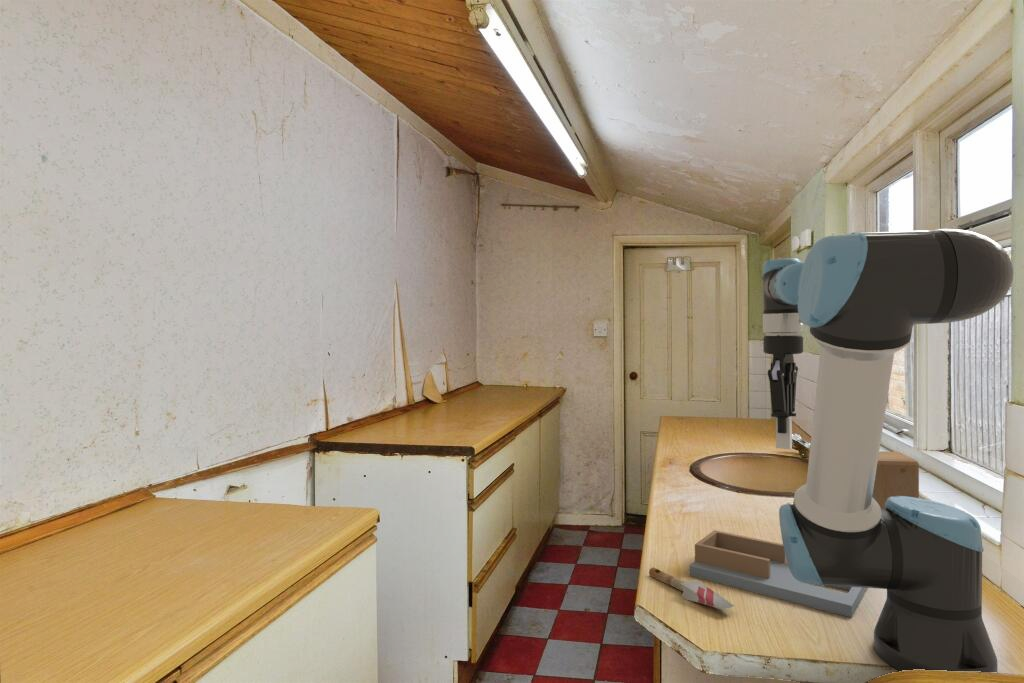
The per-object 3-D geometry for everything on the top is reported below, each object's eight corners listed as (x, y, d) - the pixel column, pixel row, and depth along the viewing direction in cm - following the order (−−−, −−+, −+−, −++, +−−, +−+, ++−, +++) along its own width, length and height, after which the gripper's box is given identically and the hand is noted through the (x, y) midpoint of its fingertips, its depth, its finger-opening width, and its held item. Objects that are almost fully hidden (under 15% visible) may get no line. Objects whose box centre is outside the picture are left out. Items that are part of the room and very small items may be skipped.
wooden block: (921, 552, 131) (920, 460, 131) (870, 549, 133) (869, 459, 133) (901, 536, 141) (901, 450, 141) (854, 534, 143) (853, 450, 143)
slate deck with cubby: (851, 617, 104) (851, 585, 103) (689, 575, 122) (689, 548, 122) (873, 578, 119) (872, 550, 119) (726, 545, 138) (725, 521, 137)
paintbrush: (720, 601, 104) (644, 566, 122) (721, 617, 104) (645, 580, 122) (736, 596, 106) (659, 562, 124) (737, 612, 106) (660, 576, 124)
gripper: (793, 335, 118) (794, 456, 118) (810, 333, 128) (811, 444, 128) (753, 335, 123) (755, 451, 123) (773, 333, 133) (774, 441, 133)
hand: (784, 448), depth 126 cm, fingers closed
